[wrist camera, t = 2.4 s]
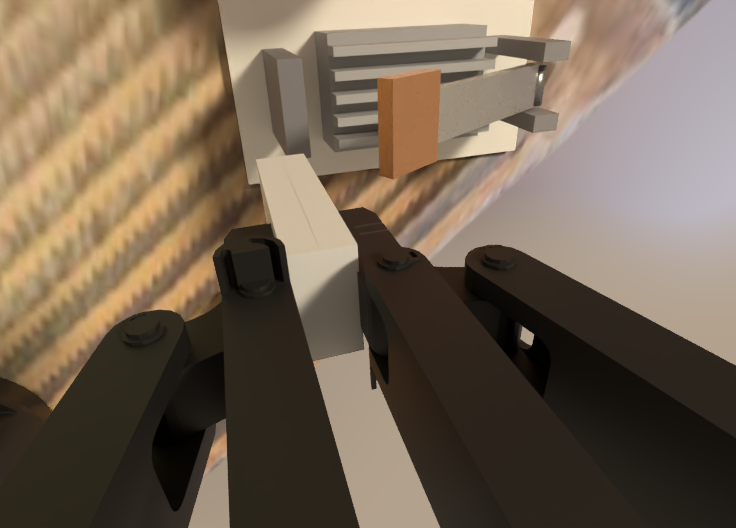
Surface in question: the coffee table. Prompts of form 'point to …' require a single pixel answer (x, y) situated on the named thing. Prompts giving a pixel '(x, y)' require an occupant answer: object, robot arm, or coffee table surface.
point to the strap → (446, 110)
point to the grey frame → (366, 71)
